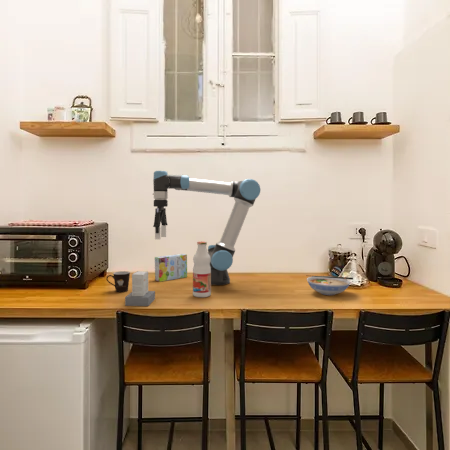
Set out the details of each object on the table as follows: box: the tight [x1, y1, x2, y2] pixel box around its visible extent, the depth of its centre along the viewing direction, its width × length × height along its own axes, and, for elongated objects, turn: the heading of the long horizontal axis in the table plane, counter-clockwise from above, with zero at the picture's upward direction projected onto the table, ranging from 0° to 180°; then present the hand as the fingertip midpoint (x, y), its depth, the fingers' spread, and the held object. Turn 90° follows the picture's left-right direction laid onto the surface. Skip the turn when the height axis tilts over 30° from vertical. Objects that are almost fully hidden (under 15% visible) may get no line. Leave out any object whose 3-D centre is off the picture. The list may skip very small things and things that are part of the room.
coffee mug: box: [106, 270, 131, 293], centre depth 187 cm, size 12×9×10 cm
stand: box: [124, 290, 156, 307], centre depth 166 cm, size 11×12×4 cm
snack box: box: [154, 253, 188, 283], centre depth 218 cm, size 21×6×15 cm, turn 133°
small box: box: [131, 270, 149, 296], centre depth 165 cm, size 8×6×10 cm
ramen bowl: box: [306, 275, 354, 296], centre depth 184 cm, size 25×23×8 cm
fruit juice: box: [192, 241, 212, 298], centre depth 179 cm, size 9×9×28 cm
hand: (160, 238), depth 189 cm, fingers open, 13 cm apart
